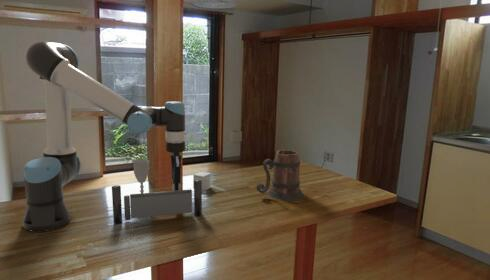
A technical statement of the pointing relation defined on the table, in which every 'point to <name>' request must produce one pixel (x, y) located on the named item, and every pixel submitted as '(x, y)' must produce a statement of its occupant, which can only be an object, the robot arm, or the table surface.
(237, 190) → the table surface
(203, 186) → the product box
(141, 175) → the chalice
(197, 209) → the gate frame
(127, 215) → the gate leaf
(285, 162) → the tankard
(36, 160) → the robot arm
